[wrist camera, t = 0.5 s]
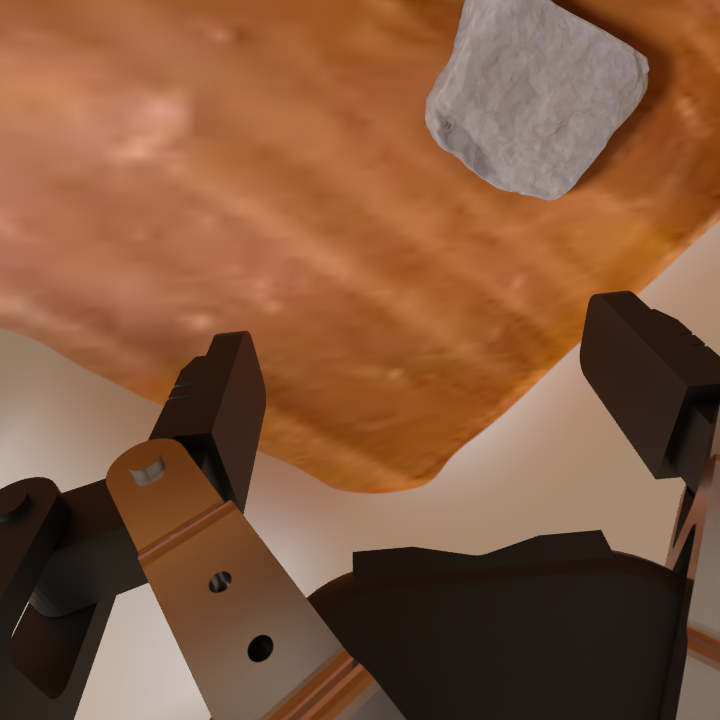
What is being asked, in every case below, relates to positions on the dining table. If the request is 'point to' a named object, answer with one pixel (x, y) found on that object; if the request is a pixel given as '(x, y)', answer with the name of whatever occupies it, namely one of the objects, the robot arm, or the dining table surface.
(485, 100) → the stone block
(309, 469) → the dining table surface
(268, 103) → the dining table surface
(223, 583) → the robot arm
